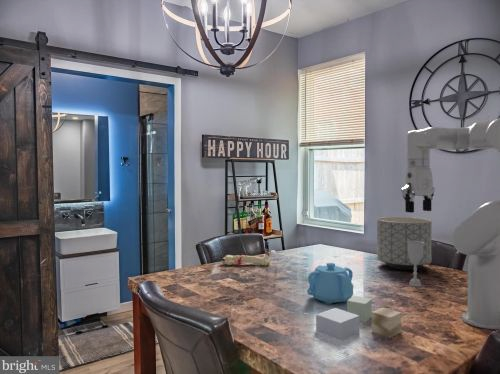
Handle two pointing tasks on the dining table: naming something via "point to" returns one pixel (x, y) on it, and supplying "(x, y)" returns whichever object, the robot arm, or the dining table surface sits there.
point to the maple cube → (386, 322)
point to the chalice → (415, 258)
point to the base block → (337, 323)
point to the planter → (402, 240)
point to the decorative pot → (331, 284)
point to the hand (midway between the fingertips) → (418, 211)
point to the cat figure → (246, 259)
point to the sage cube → (360, 307)
